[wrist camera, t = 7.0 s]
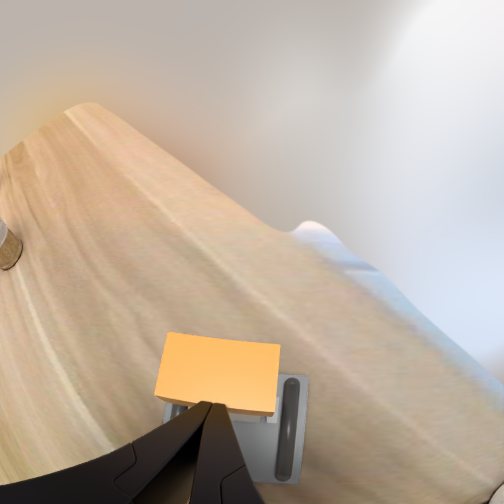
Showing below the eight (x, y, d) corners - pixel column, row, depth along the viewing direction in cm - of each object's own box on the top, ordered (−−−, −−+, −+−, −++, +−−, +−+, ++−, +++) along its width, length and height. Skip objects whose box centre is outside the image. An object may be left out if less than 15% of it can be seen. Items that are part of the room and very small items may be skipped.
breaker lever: (265, 428, 16) (274, 412, 9) (199, 420, 16) (154, 395, 9) (269, 391, 17) (280, 344, 10) (204, 384, 17) (167, 331, 10)
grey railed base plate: (293, 476, 17) (302, 489, 13) (169, 460, 17) (149, 468, 13) (302, 381, 21) (313, 371, 17) (183, 368, 21) (166, 356, 17)
